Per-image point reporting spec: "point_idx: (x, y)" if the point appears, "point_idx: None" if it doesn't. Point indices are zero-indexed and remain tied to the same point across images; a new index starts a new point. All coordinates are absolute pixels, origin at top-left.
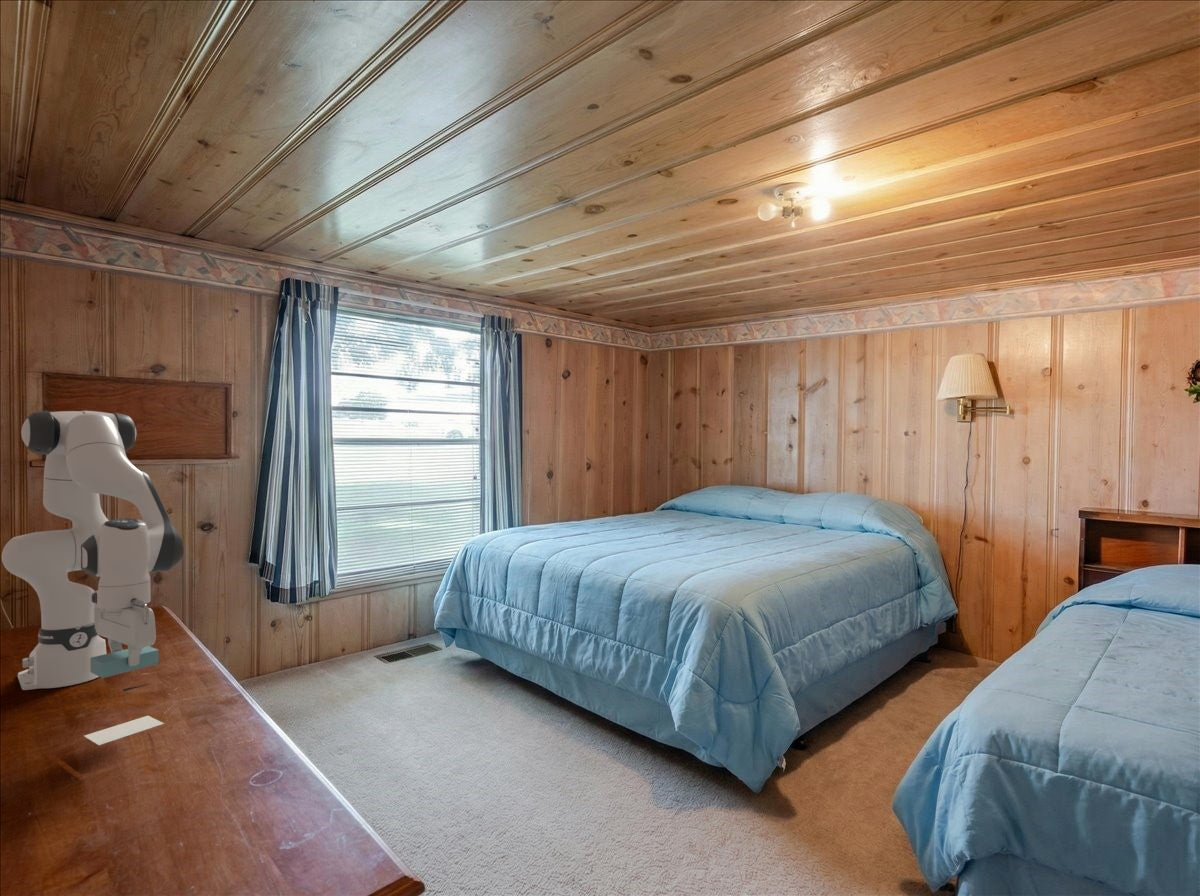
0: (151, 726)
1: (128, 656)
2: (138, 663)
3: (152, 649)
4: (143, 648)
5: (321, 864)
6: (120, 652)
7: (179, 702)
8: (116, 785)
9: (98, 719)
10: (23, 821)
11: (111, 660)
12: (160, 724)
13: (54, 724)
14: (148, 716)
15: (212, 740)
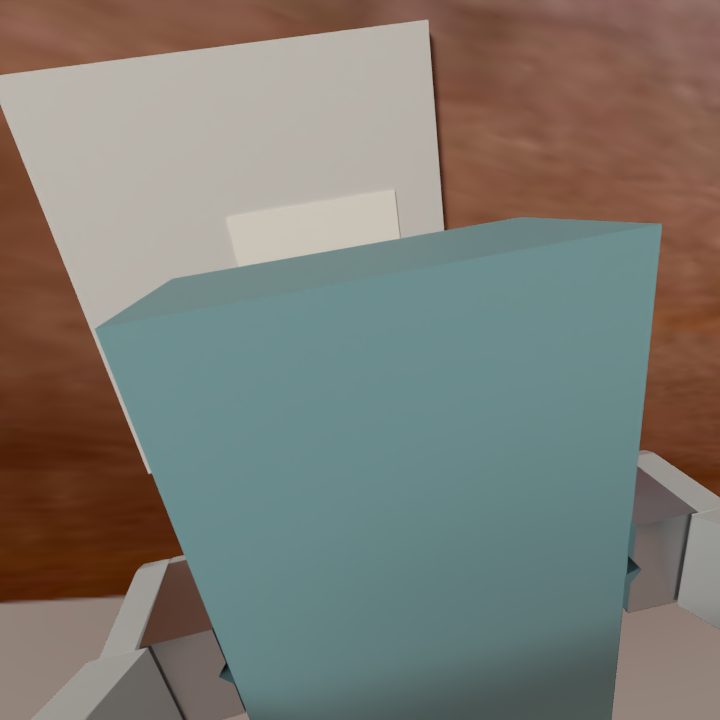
0: (387, 240)
1: (708, 616)
2: (645, 455)
3: (545, 301)
4: (352, 405)
5: None
6: (325, 657)
7: (67, 12)
8: (712, 401)
9: (75, 375)
10: None
11: (583, 708)
12: (393, 205)
13: (21, 500)
14: (243, 219)
15: (698, 87)
